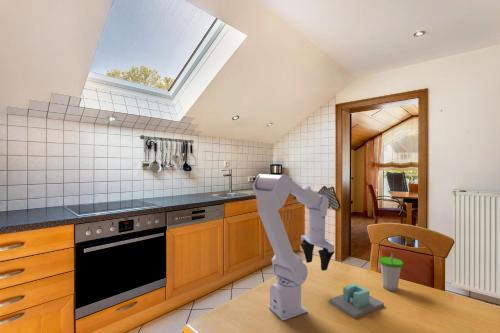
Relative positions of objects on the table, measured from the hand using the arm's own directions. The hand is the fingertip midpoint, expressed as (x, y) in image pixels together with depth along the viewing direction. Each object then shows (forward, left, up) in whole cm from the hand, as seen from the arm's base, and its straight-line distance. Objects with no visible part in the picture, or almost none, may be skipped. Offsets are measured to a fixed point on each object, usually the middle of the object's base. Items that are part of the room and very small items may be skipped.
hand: (316, 265), depth 90 cm
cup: (+26, -11, -10) cm, 30 cm away
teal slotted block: (+6, -12, -8) cm, 16 cm away
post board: (+6, -12, -9) cm, 16 cm away
